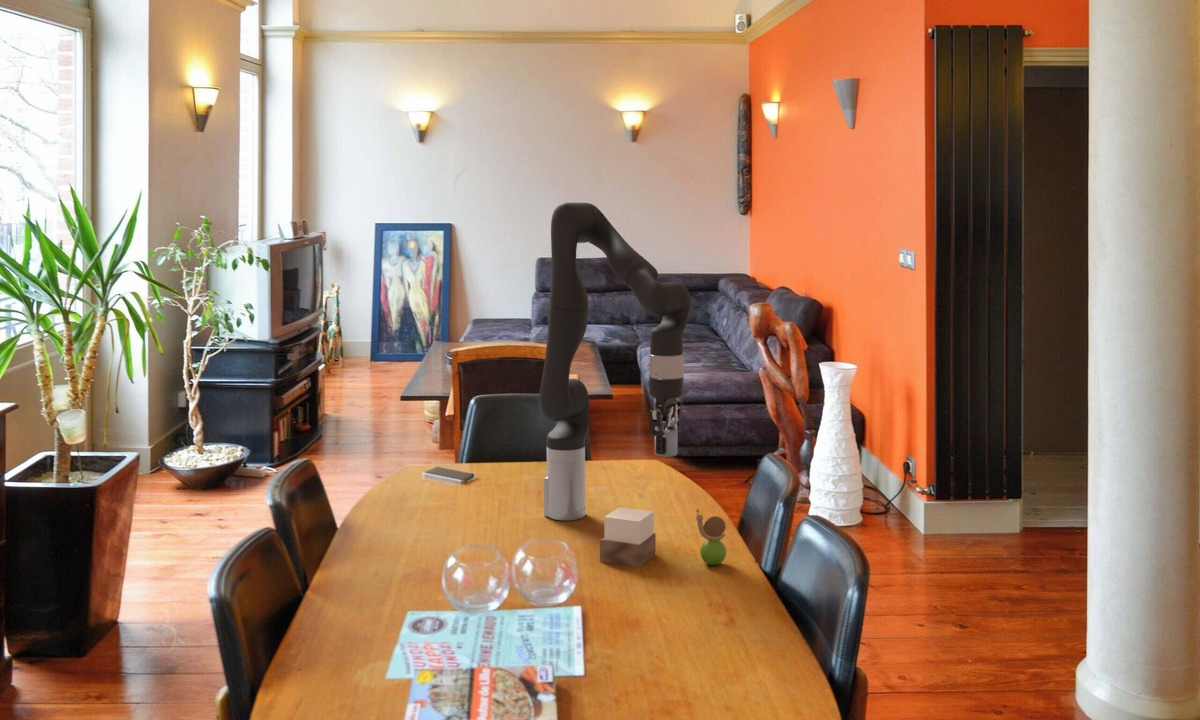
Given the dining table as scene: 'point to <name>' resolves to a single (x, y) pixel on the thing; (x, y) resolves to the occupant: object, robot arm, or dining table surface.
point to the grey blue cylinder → (670, 443)
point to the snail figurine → (712, 539)
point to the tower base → (627, 552)
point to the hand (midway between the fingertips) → (665, 450)
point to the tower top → (629, 525)
